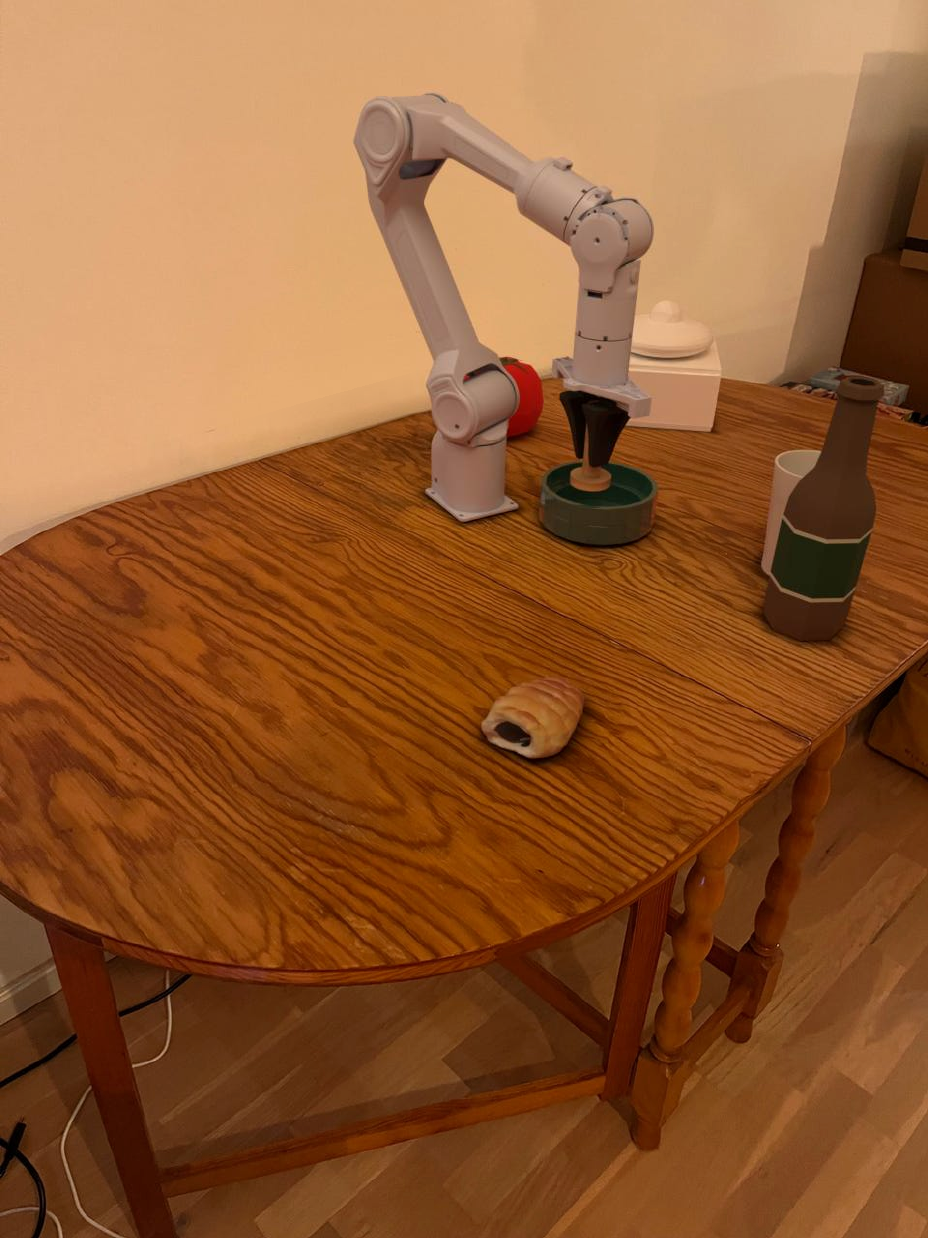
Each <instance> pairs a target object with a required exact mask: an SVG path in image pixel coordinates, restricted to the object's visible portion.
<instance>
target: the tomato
mask: <svg viewBox="0 0 928 1238" xmlns="http://www.w3.org/2000/svg"><path fill="white" fill-rule="evenodd" d="M499 359H500V362H501V364H502V366H503V367H504V369H505V370H506V371H507V372H508V373H509V374H510V375H511V376H512V377H513V379H514V380H515V382H516V384H517V386H518V389H519V394H520V402H519V406H518V409H517V411H516V412H515V414H514V415H513V416H512V417H510V418H509V423H508V429H507V435H506V436H507V438H509V437H515V436H519V435H522V434H525V433H527V432H528V431H530V430H531V429H532V428H533V427H534V426H535V425H536V424H537V422H538V421H539V419H540V416H541V415H542V413H543V410H544V402H545V401H544V391H543V383H542V379H541V378H540V376H539V374H538V372H537V371H536V369H535V368H534V367H533V366H532V365H531V364H528V363H524V362H522V360H520V359H518V358H515V357H511V356H502V357H501V356H499ZM467 378H469V377H468V376H466V375H465V376H464V379H463V380H465V379H467Z"/></svg>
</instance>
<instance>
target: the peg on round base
mask: <svg viewBox="0 0 928 1238" xmlns="http://www.w3.org/2000/svg"><path fill="white" fill-rule="evenodd" d="M592 402H599V400H594V401H590V402H588V403H592ZM582 461H583V464H582V467H579V468H576V469H574V470H572V471H571V474H570V484H571V485H572V486H573V487H575V488H577V489H580V490H584V491H602V490H605V489H607V488H609V486H610V483H611V474H610V473H609V472H608V471H606V470H604V469H601V466H600V467H595V468H592V467H591V466H589V460H588V429H587V423H586V431H585V442H584V453H583V459H582Z"/></svg>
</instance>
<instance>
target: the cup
mask: <svg viewBox="0 0 928 1238" xmlns="http://www.w3.org/2000/svg"><path fill="white" fill-rule="evenodd" d="M821 451H822V450H813V449H794V450H787V451H784V452H781V453H780V454H778V455H777V456H775V459H774V465H773V466H774V467H773V476H772V484H771V492H770V500H769V508H768V513H767V514H768V515H767V522H766V523H767V524H766V530H765V531H766V532H765V538H764V546H763V553H762V558H761V563H760V567H761V569H762V571H763V572H764V573H765V574H766V575H767V576H768V577H769V576H770V571H771V567H772V562H773V558H774V553H775V549H776V544H777V540H778V535H779V531H780V526H781V522H782V517H783V513H784V510H785V507H786V504H787V501H788V497H789V495H790V494H791V492H792V491H793V489H794V488H795V486H796V485H797V483H798V482H799V481H800V480H801V479H802V478H803V477H804V476H805V475H806V474H808V473H809V472H810V471H811V470H812V469H813V468H814V467H815V465H816V462H817V460H818V458H819V456H820V454H821Z"/></svg>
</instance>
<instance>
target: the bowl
mask: <svg viewBox="0 0 928 1238" xmlns="http://www.w3.org/2000/svg"><path fill="white" fill-rule="evenodd" d="M582 464H583V460H573V461H568V462H564V463H560V464H557V465H555V466H553V467H551V468H549V469H547V470H546V471H545V472H544V473H543V474H542V475H541V478H540V479H541V480H540V493H539V508H538V509H539V510H538V519H539V521H540V522H541V524H542V526H543V527H544V528H545V529H546V530H548V531H550V532H551V533H552V534H554V535H556V536H557V537H560V538H563V539H565V540H568V541H571V542H574V543H578V544H584V545H588V546H589V545H590V546H614V545H616V546H617V545H621V544H626V543H629V542H634V541H637V540H639V539H641V538H643V537H644V536H646V535H647V534H649V533H650V531H651V530H652V528H653V527H654V525H655V517H656V510H657V504H658V503H657V502H658V495H659V487H658V482H657V481H656V480H655V479H654V478H653V477H652V476H651V475H650V474H649V473H647V472H645V471H644V470H641V469H639V468H637V467H634V466H631V465H628V464H624V463H619V462H614V461H609V463H608V465H604V466H601V469H604V470H606V471H608V472H609V473H610V474H611V483H610V486H609V488H607V489H605V490H602V491H584V490H580V489H577V488H575V487H573V486H572V485H571V484H570V474H571V471H572V470H574V469H576V468H579V467H582Z"/></svg>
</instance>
